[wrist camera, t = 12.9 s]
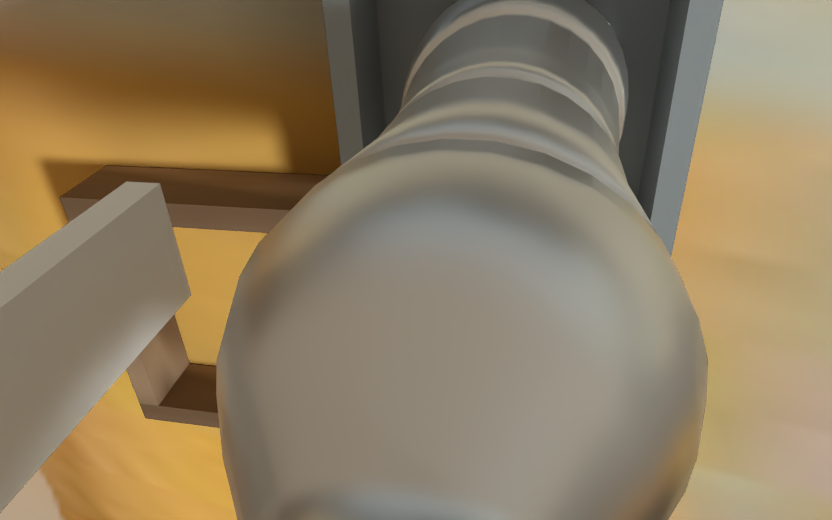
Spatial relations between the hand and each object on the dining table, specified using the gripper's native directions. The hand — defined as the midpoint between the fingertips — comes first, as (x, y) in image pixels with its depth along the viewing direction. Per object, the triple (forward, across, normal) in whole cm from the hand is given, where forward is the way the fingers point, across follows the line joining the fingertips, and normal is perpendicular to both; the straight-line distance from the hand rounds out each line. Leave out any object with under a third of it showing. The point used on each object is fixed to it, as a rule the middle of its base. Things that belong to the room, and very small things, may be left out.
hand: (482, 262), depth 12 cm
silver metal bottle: (+11, 0, 0) cm, 11 cm away
